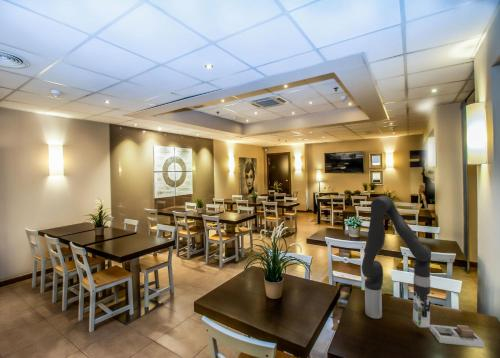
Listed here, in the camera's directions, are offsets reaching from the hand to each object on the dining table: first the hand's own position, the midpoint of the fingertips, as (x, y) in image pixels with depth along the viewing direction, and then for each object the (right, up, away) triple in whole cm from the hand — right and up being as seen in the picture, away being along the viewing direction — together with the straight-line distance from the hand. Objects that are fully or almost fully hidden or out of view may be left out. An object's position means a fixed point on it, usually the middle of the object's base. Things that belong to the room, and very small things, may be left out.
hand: (421, 313), depth 136 cm
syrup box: (0, -6, 0) cm, 6 cm away
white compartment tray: (+16, -12, -3) cm, 20 cm away
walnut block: (+20, -12, -4) cm, 24 cm away
